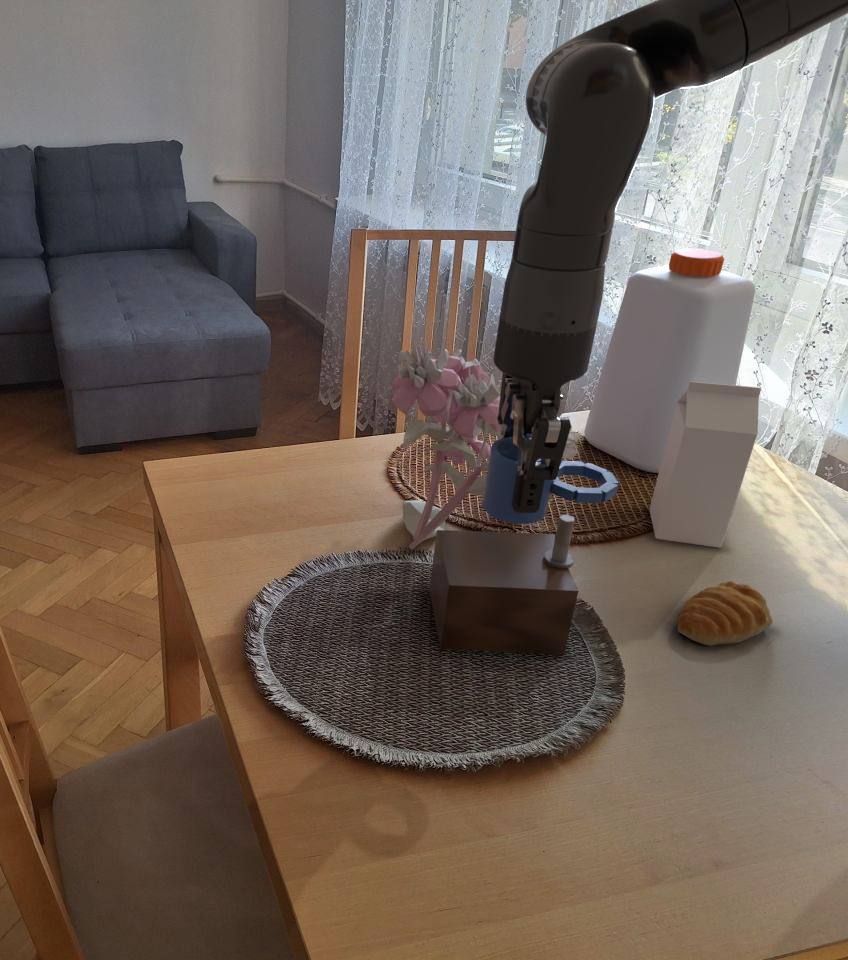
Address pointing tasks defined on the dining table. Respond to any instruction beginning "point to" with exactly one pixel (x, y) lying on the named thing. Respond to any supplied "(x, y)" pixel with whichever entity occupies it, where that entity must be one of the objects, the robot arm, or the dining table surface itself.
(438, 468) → the flower
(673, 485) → the milk carton
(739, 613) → the pastry
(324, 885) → the dining table surface
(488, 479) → the blue mug
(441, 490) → the dining table surface
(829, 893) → the dining table surface
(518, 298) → the robot arm
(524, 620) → the walnut box
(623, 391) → the plastic bottle
